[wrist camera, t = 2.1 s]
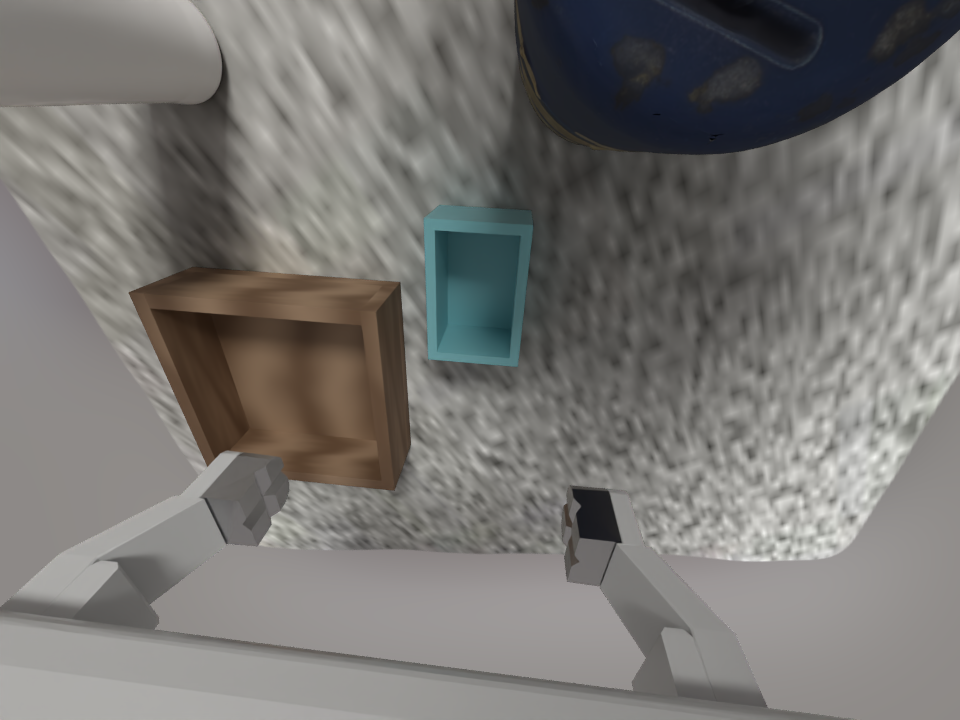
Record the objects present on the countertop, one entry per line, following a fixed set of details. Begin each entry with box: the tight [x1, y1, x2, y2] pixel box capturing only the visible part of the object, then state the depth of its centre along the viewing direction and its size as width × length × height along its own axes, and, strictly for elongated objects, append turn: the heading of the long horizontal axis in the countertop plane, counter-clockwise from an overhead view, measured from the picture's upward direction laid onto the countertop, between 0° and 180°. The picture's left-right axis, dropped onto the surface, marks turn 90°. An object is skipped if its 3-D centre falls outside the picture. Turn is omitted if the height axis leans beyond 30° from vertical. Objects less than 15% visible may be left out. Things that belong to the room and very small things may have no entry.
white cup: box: [0, 0, 222, 107], centre depth 15 cm, size 7×7×15 cm
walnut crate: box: [129, 267, 411, 491], centre depth 30 cm, size 16×16×6 cm
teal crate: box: [424, 205, 533, 367], centre depth 25 cm, size 6×9×5 cm, turn 177°
